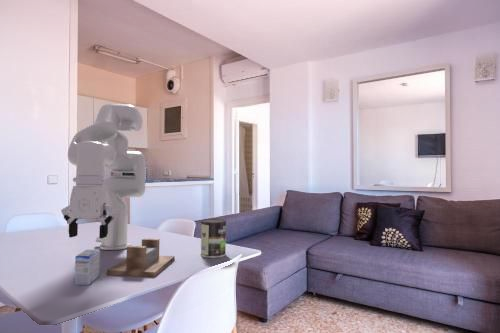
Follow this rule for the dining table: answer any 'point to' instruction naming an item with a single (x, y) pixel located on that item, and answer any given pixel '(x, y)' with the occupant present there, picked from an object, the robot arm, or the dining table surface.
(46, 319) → the dining table surface
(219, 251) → the coffee can
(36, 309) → the dining table surface
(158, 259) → the display stand
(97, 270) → the medicine box
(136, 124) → the robot arm
